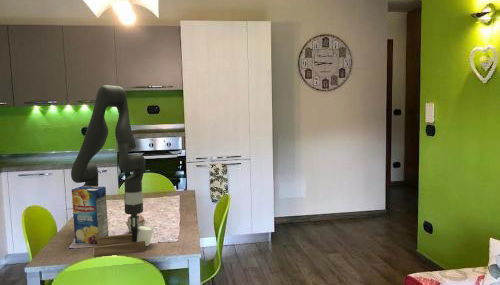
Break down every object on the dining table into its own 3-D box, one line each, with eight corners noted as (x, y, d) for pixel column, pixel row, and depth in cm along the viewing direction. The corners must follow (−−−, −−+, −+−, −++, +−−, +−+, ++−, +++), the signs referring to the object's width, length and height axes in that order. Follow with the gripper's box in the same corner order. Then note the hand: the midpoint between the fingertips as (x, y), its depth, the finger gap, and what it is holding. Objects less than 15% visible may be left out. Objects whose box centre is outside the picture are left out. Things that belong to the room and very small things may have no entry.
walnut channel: (97, 244, 173) (97, 237, 172) (145, 239, 178) (145, 232, 177) (94, 256, 160) (93, 247, 159) (145, 250, 165) (145, 242, 165)
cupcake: (139, 235, 184) (138, 214, 183) (122, 233, 187) (120, 213, 186) (150, 229, 192) (149, 209, 191) (133, 227, 195) (132, 207, 194)
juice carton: (75, 242, 176) (71, 189, 173) (85, 237, 183) (82, 185, 180) (98, 244, 173) (95, 190, 170) (108, 238, 180) (105, 186, 178)
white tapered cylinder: (142, 240, 176) (144, 224, 176) (154, 244, 173) (156, 228, 172) (131, 243, 170) (133, 227, 169) (143, 247, 167) (145, 231, 166)
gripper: (125, 198, 174) (126, 236, 176) (123, 206, 161) (125, 247, 163) (142, 197, 175) (144, 235, 177) (142, 205, 163) (144, 245, 165)
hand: (134, 241), depth 170 cm, fingers closed
